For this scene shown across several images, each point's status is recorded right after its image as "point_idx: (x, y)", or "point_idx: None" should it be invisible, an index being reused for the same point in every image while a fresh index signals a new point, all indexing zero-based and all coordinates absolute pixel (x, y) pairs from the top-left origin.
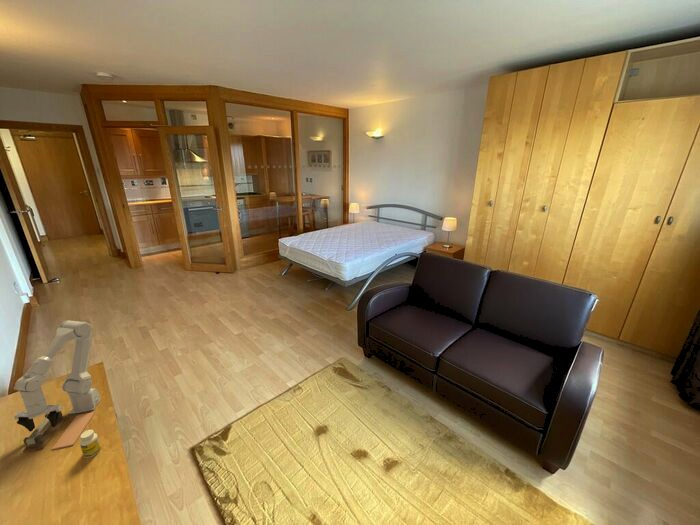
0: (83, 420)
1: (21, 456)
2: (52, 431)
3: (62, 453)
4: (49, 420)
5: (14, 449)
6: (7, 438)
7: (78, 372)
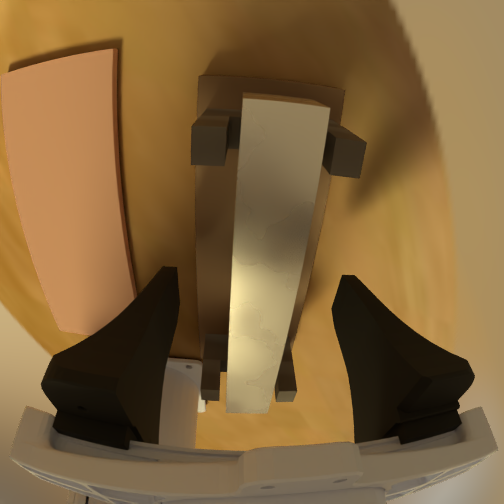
0: (68, 287)
1: (335, 59)
2: (205, 245)
3: (39, 11)
4: (142, 332)
5: (408, 168)
6: (450, 281)
7: None
